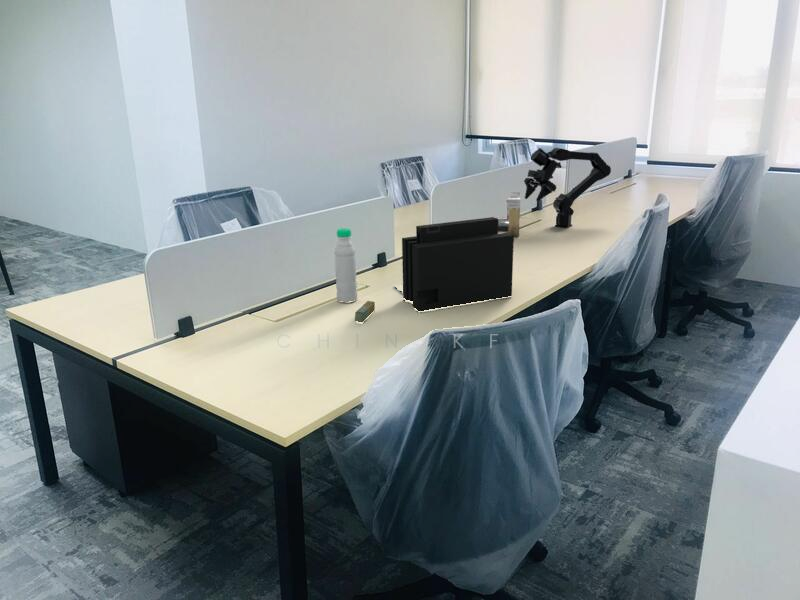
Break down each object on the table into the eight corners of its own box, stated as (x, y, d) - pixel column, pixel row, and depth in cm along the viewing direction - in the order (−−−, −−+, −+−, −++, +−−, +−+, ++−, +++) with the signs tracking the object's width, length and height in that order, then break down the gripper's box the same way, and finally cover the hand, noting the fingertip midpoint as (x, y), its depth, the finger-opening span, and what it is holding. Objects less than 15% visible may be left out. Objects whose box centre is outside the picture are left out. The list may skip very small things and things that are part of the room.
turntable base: (518, 227, 331) (518, 224, 330) (507, 231, 324) (507, 228, 323) (501, 225, 337) (501, 222, 336) (490, 228, 330) (490, 225, 329)
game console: (419, 313, 216) (418, 232, 208) (383, 288, 243) (381, 215, 234) (511, 297, 229) (514, 221, 221) (468, 275, 256) (469, 206, 247)
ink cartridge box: (503, 221, 345) (503, 193, 340) (502, 219, 349) (503, 191, 345) (519, 221, 344) (521, 193, 339) (519, 219, 349) (520, 191, 344)
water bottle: (337, 297, 233) (333, 227, 225) (357, 296, 233) (354, 226, 225) (336, 304, 226) (333, 232, 218) (357, 303, 227) (354, 231, 219)
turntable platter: (522, 223, 330) (523, 221, 330) (508, 228, 321) (508, 225, 321) (500, 220, 338) (500, 217, 338) (486, 225, 329) (486, 222, 329)
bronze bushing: (521, 236, 314) (522, 208, 310) (515, 238, 310) (516, 210, 306) (511, 234, 317) (512, 207, 313) (506, 236, 313) (506, 208, 309)
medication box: (362, 325, 208) (362, 313, 206) (354, 324, 208) (354, 312, 207) (375, 312, 219) (374, 300, 217) (367, 311, 219) (367, 300, 218)
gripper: (524, 161, 324) (508, 189, 324) (548, 163, 308) (531, 193, 308) (539, 173, 330) (523, 200, 330) (563, 176, 314) (547, 205, 314)
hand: (531, 199), depth 320 cm, fingers open, 9 cm apart
